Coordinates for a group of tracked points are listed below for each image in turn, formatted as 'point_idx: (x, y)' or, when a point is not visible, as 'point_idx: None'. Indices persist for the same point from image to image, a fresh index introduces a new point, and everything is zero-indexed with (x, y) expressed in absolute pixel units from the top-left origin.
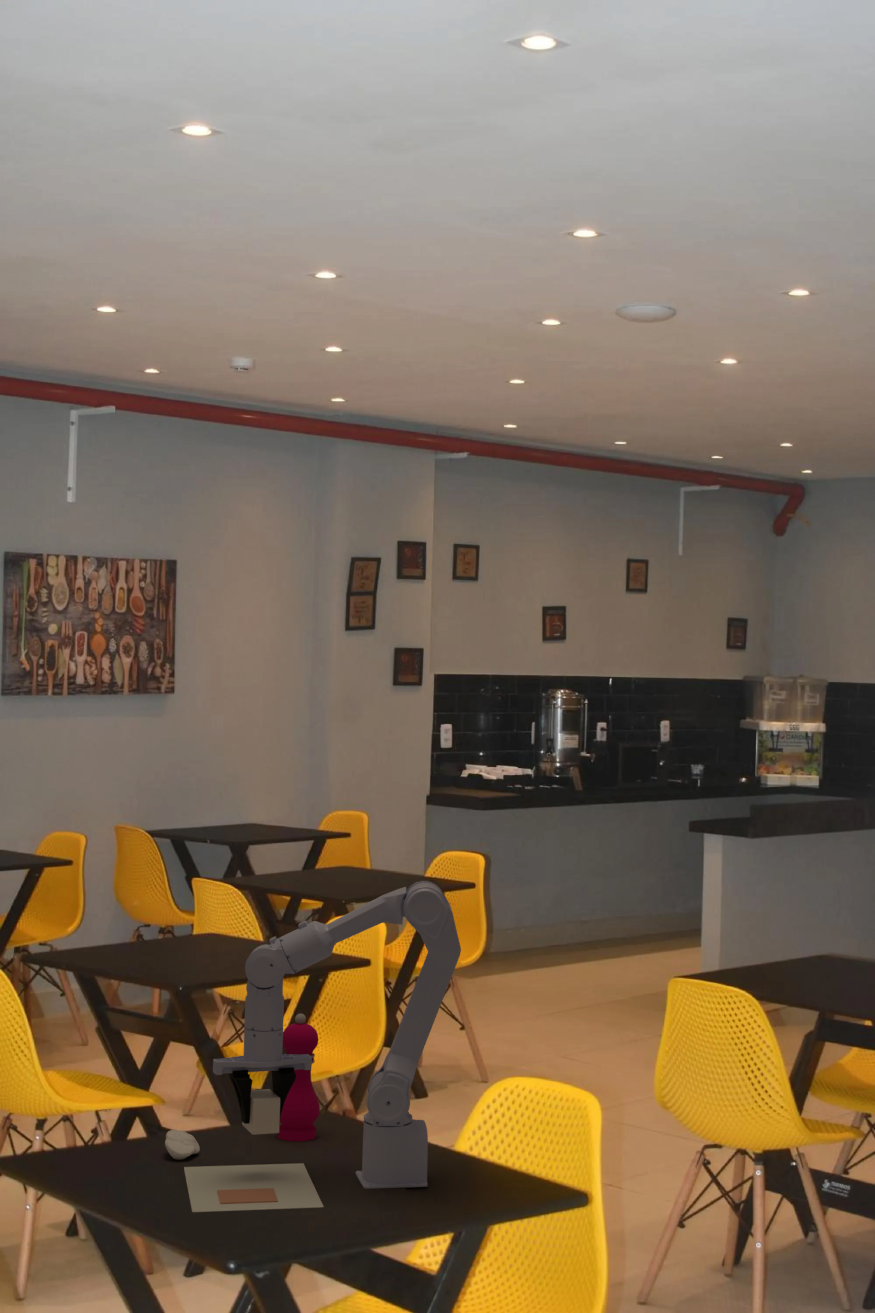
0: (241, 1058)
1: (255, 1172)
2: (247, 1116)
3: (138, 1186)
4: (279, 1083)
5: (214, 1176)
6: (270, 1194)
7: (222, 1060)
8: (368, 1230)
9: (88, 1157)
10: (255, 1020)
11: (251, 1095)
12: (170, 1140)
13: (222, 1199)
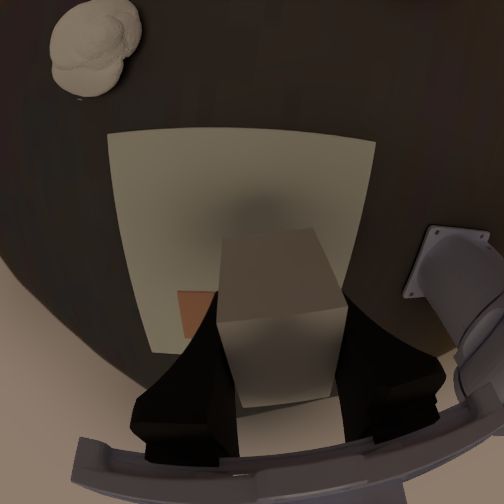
0: (191, 496)
1: (260, 189)
2: None
3: (55, 234)
4: (345, 421)
5: (169, 208)
6: None
7: (114, 496)
8: (334, 389)
9: None
10: None
11: (243, 379)
12: (59, 71)
13: (187, 329)
